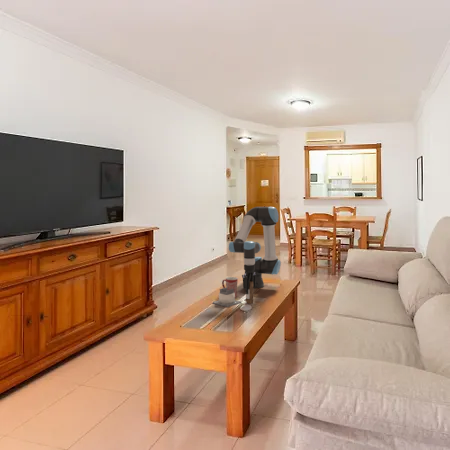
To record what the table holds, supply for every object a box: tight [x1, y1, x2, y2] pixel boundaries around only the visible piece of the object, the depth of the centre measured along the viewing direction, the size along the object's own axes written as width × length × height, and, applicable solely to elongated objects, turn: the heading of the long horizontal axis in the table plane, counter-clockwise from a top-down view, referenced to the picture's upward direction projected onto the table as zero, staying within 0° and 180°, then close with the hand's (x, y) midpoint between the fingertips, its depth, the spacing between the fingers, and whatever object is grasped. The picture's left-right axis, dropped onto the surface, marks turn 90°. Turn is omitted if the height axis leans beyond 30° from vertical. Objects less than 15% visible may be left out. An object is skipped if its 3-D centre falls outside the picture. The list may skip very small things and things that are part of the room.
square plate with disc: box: [212, 286, 242, 308], centre depth 290 cm, size 14×14×10 cm
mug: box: [221, 276, 239, 298], centre depth 308 cm, size 13×9×14 cm
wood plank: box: [245, 281, 254, 305], centre depth 288 cm, size 3×4×15 cm
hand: (249, 298), depth 289 cm, fingers closed on wood plank, 3 cm apart
